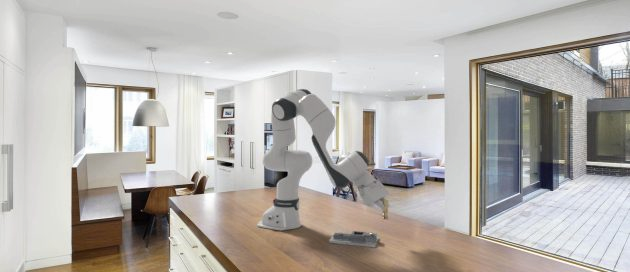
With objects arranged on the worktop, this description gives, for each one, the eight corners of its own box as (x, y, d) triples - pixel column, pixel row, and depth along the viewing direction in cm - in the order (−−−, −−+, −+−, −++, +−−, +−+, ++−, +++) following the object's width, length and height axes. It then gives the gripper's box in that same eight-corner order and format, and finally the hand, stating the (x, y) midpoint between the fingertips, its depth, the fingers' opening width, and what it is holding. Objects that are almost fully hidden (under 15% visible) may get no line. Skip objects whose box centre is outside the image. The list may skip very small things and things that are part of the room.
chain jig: (328, 242, 147) (328, 233, 147) (335, 234, 159) (335, 226, 159) (375, 247, 142) (375, 238, 142) (378, 238, 153) (378, 229, 153)
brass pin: (382, 219, 146) (382, 200, 145) (382, 217, 148) (382, 199, 148) (387, 219, 145) (387, 201, 145) (388, 218, 147) (388, 199, 147)
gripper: (361, 182, 141) (383, 209, 136) (378, 176, 158) (398, 199, 153) (351, 192, 143) (372, 218, 138) (369, 184, 161) (389, 207, 156)
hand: (386, 208), depth 146 cm, fingers closed on brass pin, 2 cm apart
